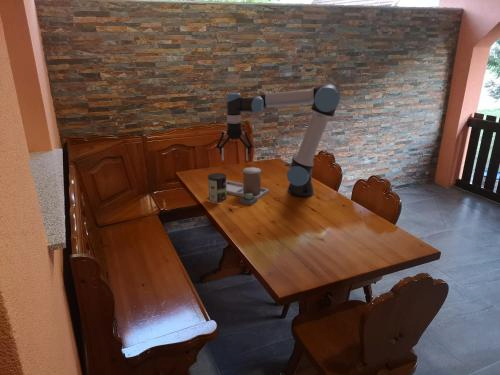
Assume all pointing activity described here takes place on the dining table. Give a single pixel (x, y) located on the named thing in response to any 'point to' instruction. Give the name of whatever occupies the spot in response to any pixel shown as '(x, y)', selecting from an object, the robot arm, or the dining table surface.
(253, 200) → the button box
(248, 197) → the button
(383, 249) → the dining table surface
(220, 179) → the coffee can
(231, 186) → the pallet board
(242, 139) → the robot arm
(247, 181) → the seated tin
